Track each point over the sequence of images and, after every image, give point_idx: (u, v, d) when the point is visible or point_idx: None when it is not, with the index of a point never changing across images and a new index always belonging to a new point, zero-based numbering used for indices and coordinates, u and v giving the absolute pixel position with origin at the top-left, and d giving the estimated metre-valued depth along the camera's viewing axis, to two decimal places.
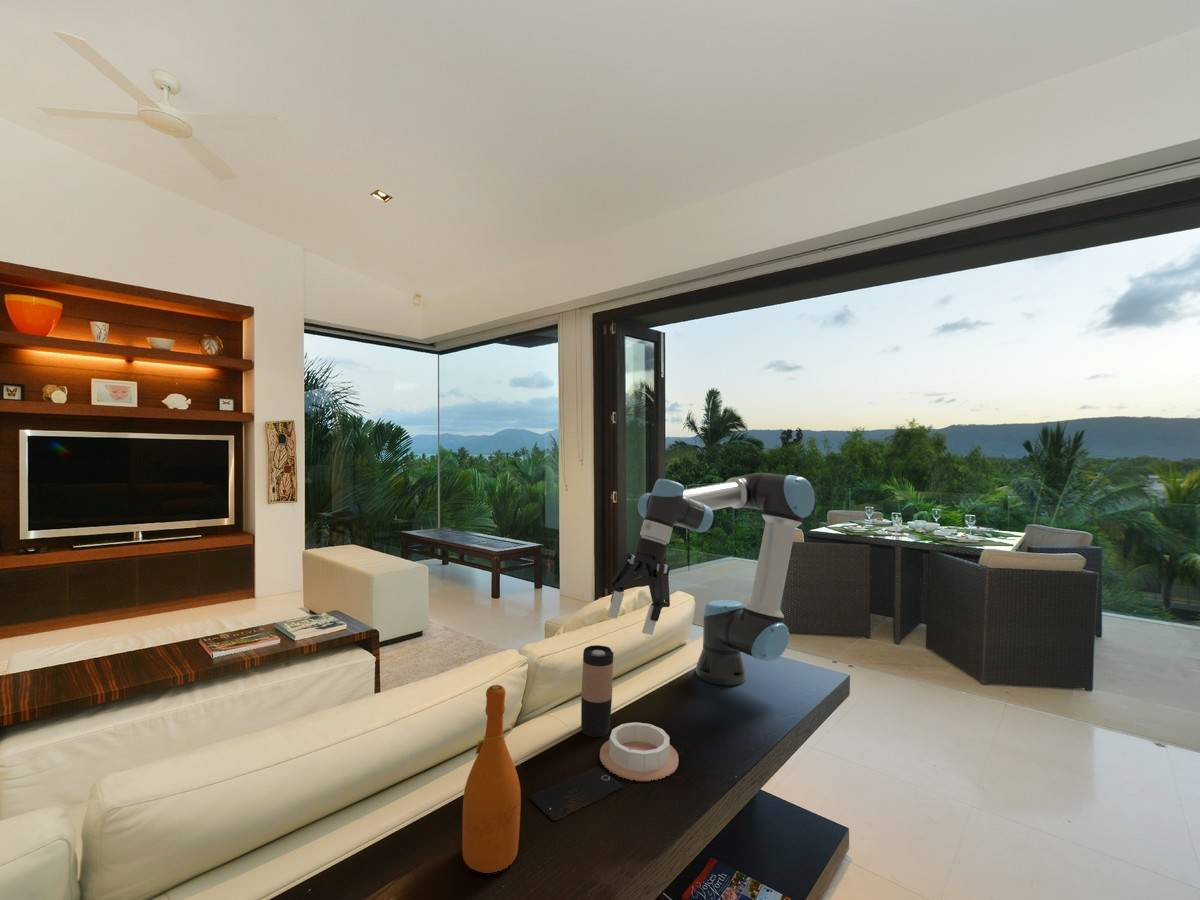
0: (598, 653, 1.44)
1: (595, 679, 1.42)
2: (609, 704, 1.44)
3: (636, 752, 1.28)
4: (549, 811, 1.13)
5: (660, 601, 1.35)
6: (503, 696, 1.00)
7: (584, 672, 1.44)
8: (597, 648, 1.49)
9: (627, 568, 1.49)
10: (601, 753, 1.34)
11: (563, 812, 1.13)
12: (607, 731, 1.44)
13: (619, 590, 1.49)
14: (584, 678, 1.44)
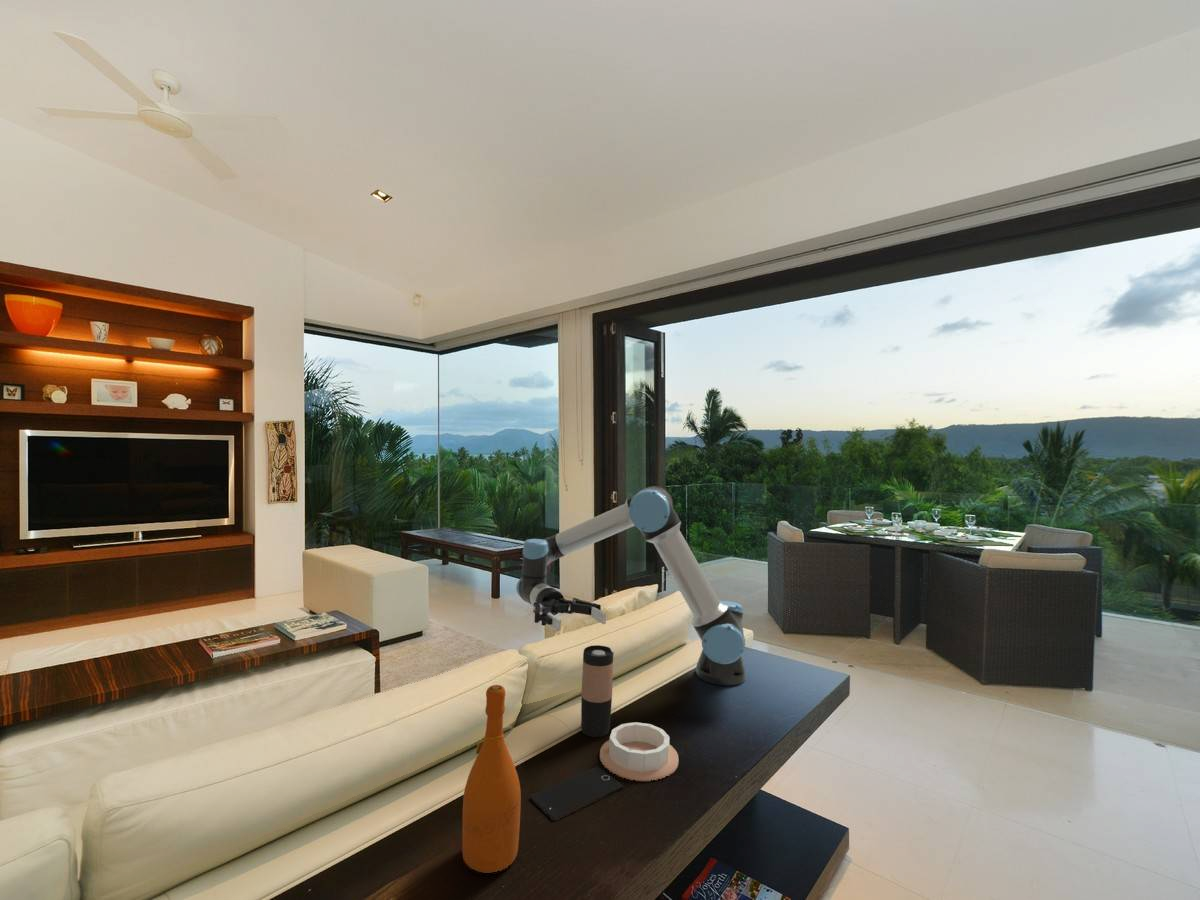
0: (598, 653, 1.44)
1: (595, 679, 1.42)
2: (609, 704, 1.44)
3: (636, 752, 1.28)
4: (549, 811, 1.13)
5: None
6: (503, 696, 1.00)
7: (584, 672, 1.44)
8: (597, 648, 1.49)
9: None
10: (601, 753, 1.34)
11: (563, 812, 1.13)
12: (607, 731, 1.44)
13: None
14: (584, 678, 1.44)
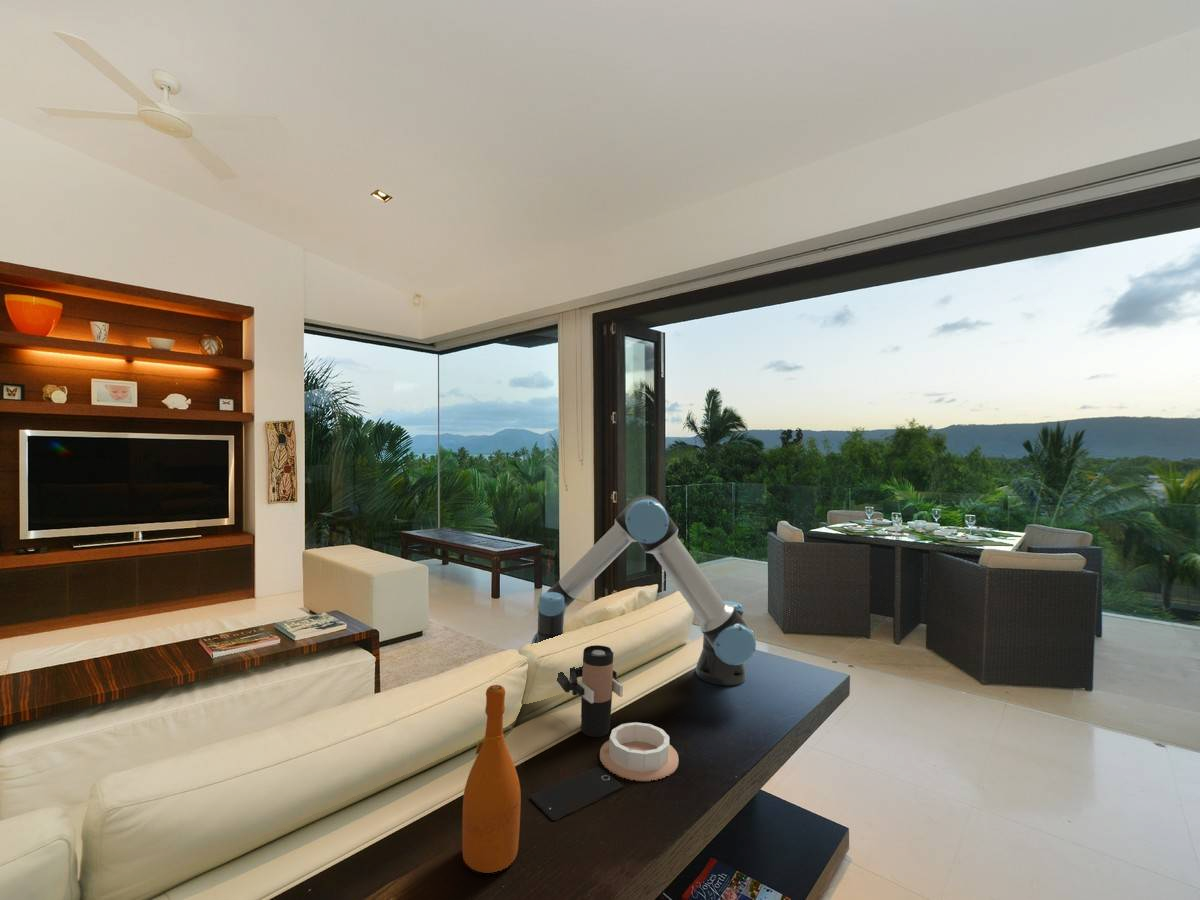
0: (598, 653, 1.44)
1: (595, 678, 1.42)
2: (609, 704, 1.44)
3: (636, 752, 1.28)
4: (549, 811, 1.13)
5: None
6: (503, 696, 1.00)
7: (584, 672, 1.44)
8: (597, 648, 1.49)
9: None
10: (601, 753, 1.34)
11: (563, 812, 1.13)
12: (607, 731, 1.44)
13: None
14: (584, 678, 1.44)
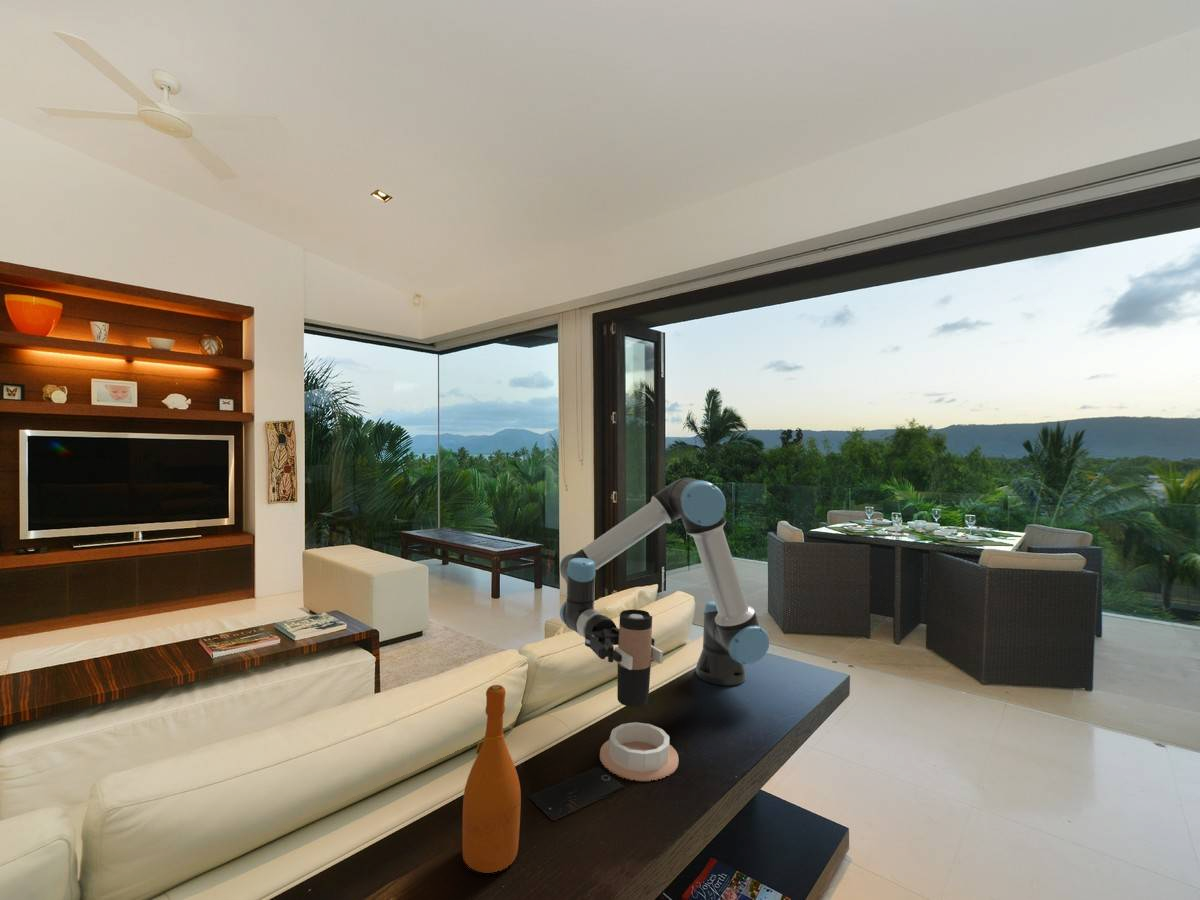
0: (636, 617, 1.33)
1: (633, 644, 1.31)
2: (648, 672, 1.33)
3: (636, 752, 1.28)
4: (549, 811, 1.13)
5: None
6: (503, 696, 1.00)
7: (621, 637, 1.33)
8: (634, 612, 1.38)
9: None
10: (601, 753, 1.34)
11: (563, 812, 1.13)
12: (646, 701, 1.33)
13: None
14: (621, 643, 1.33)
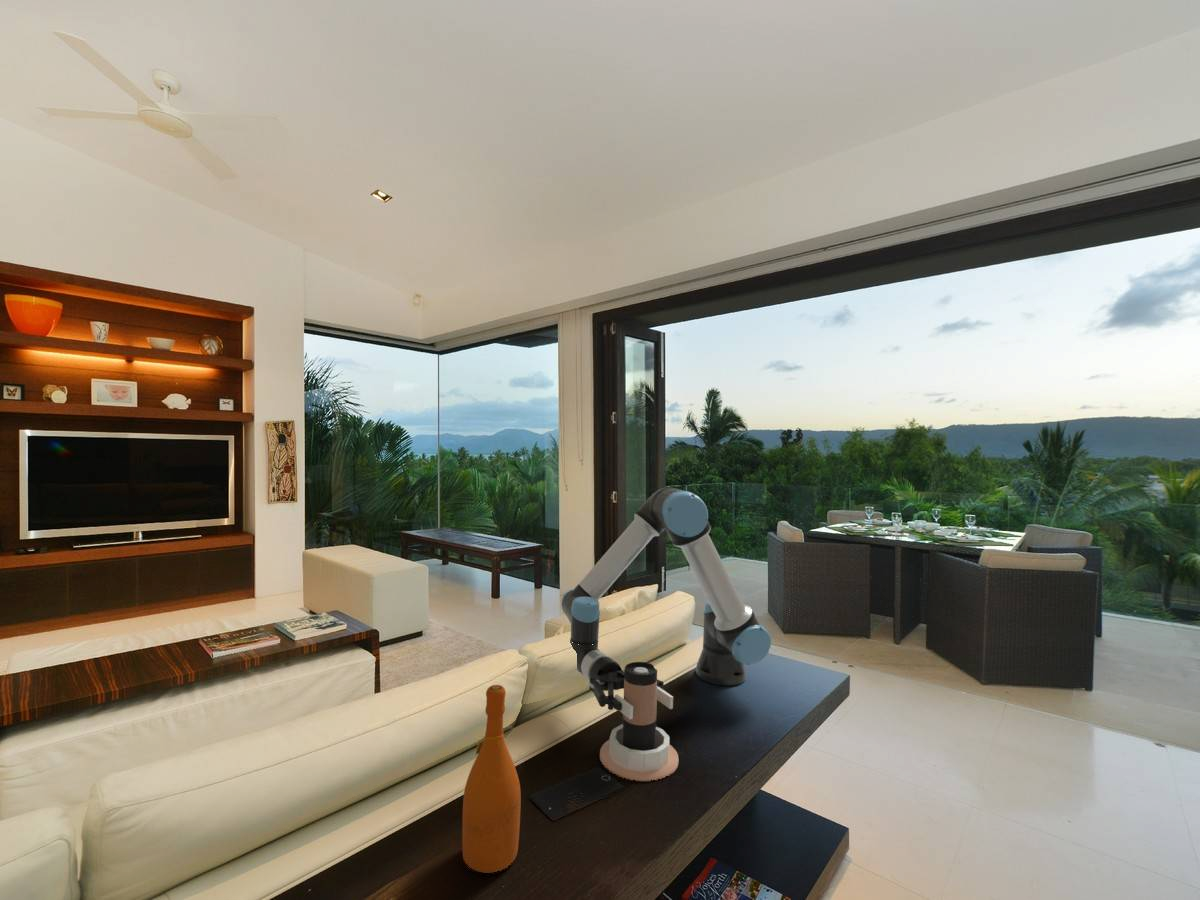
0: (641, 671, 1.33)
1: (638, 699, 1.30)
2: (654, 727, 1.32)
3: (636, 752, 1.28)
4: (549, 811, 1.13)
5: None
6: (503, 696, 1.00)
7: (626, 692, 1.32)
8: (638, 665, 1.37)
9: None
10: (601, 753, 1.34)
11: (563, 812, 1.13)
12: None
13: None
14: (626, 698, 1.32)
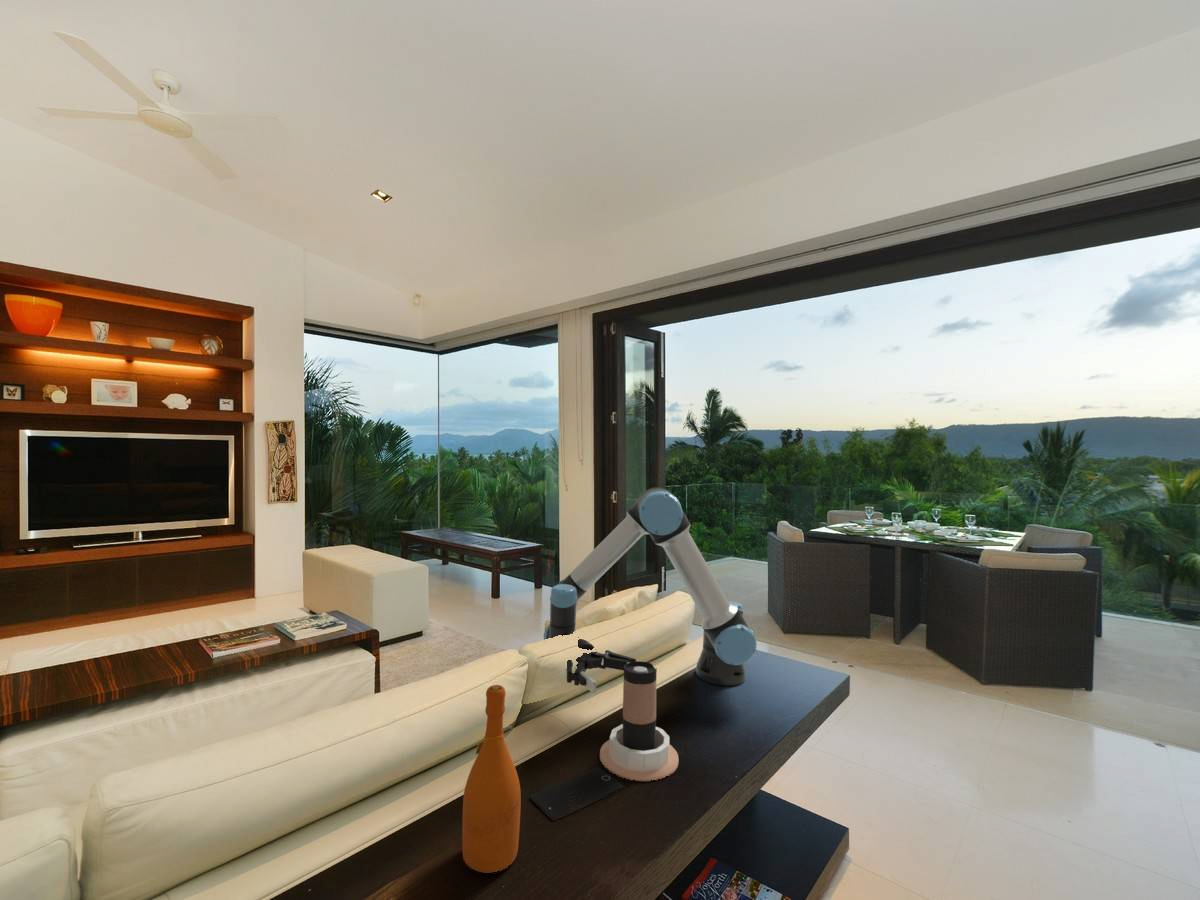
0: (640, 670, 1.33)
1: (638, 698, 1.30)
2: (653, 726, 1.32)
3: (636, 752, 1.28)
4: (548, 811, 1.13)
5: None
6: (503, 696, 1.00)
7: (626, 691, 1.32)
8: (638, 664, 1.37)
9: None
10: (601, 753, 1.34)
11: (562, 812, 1.13)
12: None
13: None
14: (626, 698, 1.32)
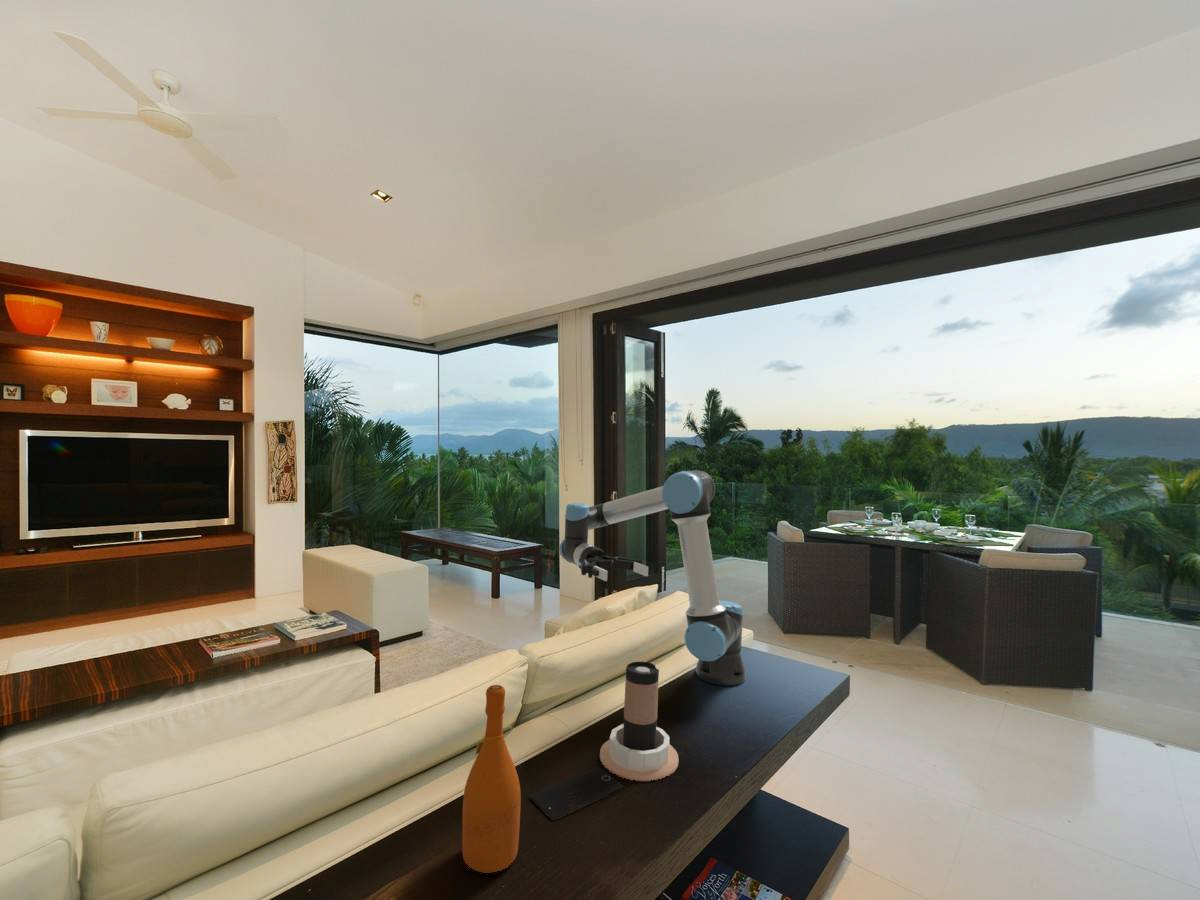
0: (642, 670, 1.33)
1: (640, 698, 1.30)
2: (654, 726, 1.32)
3: (636, 752, 1.28)
4: (548, 810, 1.14)
5: None
6: (503, 696, 1.00)
7: (627, 691, 1.32)
8: (640, 665, 1.37)
9: None
10: (601, 753, 1.34)
11: (562, 812, 1.13)
12: None
13: None
14: (628, 698, 1.32)
